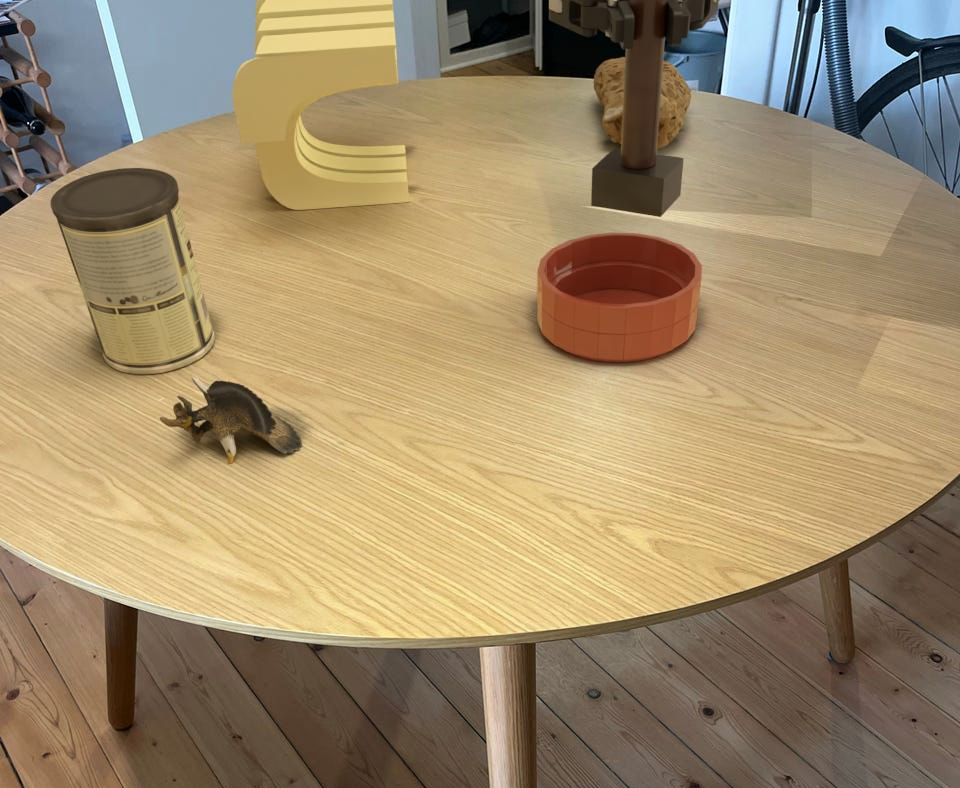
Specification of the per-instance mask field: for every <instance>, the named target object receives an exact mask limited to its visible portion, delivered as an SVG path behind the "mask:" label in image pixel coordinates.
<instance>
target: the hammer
mask: <svg viewBox="0 0 960 788" xmlns="http://www.w3.org/2000/svg"><path fill="white" fill-rule="evenodd" d="M667 2H668V0H628V4H629V5H630V7H631V9H632V11H633V13H634V40H633V48H632V49H625V56H624V57H625V75H624V96H623V117H622V138H621V144H620V148H612V149H611V150H610V151H609V152H608V153H607V154H606V155H605V156H604V157H603V158H602V159H600V160H599V162H597V163H596V164H595V165H594V166H593V167H592V168H591V192H590V193H591V195H590V196H591V197H590V206H591V207H595V208H603V209H607V210H614V211H615V210H616V211H621V212H627V213H633V214H640V215H646V216H651V217H658V218H662V216H664V215H665V213H666V212H667V211H668V210H669V209H670V207H671V206H672V205H673V204H674V203H675V202H676V201H677V200H678V199H679V198H680V197H681V193H682V192H681V191H682V180H683V169H684V159H685V158H684V157H680V156H672V155H665V154H657V153H658V150H657V141H658V127H659V113H660V100H661V86H662V72H663V60H664V58H665V57H664V56H665V41H666V38H665V30H666V16H667Z"/></svg>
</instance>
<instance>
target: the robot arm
mask: <svg viewBox="0 0 960 788" xmlns="http://www.w3.org/2000/svg"><path fill="white" fill-rule="evenodd" d="M719 2H720V1H719V0H668V2H667V16H666V30H665V40H666V41H667V43H668V45H669V47H677V46H679V47H680V46H681V45H682V42H683V41H682V40H683V39H688V38H689V34H690V30H692V31H698V30H700V29H703V28H704V27H705V26H706V24H707V23H708V22H709V21H710V19H711V18H712V17H713V16H714V15H715V13H716V12H717V11H718V9H719ZM548 20H549V21H550V22H552V23H554V24H557V25H559V26H561V27H564V28H565V29H568V30H570V31H572V32H574V33H576V34H578V35H580V36H583V37H586V38H591V37H593V36H596V35H597V34H598V30H599V31H601V32H602V33H605V36H606V37H608V38H610V40H611V42H613V43H615V44H618V43H619V45H620V47H621V49H622V50H626V49H632V48H633V40H634V13H633V11H632V9H631V7H630V5H629V4H628V0H548Z"/></svg>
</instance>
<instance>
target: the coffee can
mask: <svg viewBox="0 0 960 788" xmlns="http://www.w3.org/2000/svg"><path fill="white" fill-rule="evenodd" d="M179 189H180V188H179V184H178V182H177V179H176V178H175V177H174V176H173V175H171V174H169V173H168V172H165V171H162V170H158V169H154V168H147V167H146V168H144V167H126V168H117V169H115V168H114V169H109V170H102V171H99V172H95V173H90V174H88V175H85V176H82V177H80V178H77V179H75V180H72V181H71V182H69V183H67V184H65V185H63V186H62V187H60V188H59V189H58V190H57V191H55V193H54V194H53V195H52V197H51V199H50V202H49V203H50V208H51V211H52V214H53V216H54V217H55V218H56V221H57V224H58V226H59V229H60V232H61V235H62V238H63V241H64V244H65V248H66V250H67V253H68V255H69V259H70V261H71V265H72V267H73V270H74V272H75V275H76V278H77V281H78V284H79V287H80V290H81V293H82V296H83V298H84V299H83V300H84V302H85V304H86V307H87V310H88V313H89V317H90V320H91V322H92V325H93V328H94V331H95V333H96V336H97V339H98V342H99V345H100V348H101V351H102V357H103V359H104V361H105V362H106V364H107V365H108V366H109V367H111V368H113V369H114V370H117V371H119V372H122V373H126V374H132V375H153V374H155V375H157V374H162V373H167V372H171V371H174V370H175V371H176V370H178V369H181V368H183V367H187V366H189V365H190V364H192V363H194V362H196V361H198V360H200V359H201V358H203V357H204V356H205V355H206V354H207V353H209V352H210V350H211V349H212V347H213V346H214V343H215V340H216V334H215V331H214V329H213V325H212V323H211V318H210V315H209V311H208V306H207V303H206V298H205V294H204V290H203V287H202V283H201V279H200V275H199V271H198V268H197V264H196V259H195V255H194V251H193V247H192V244H191V240H190V235H189V232H188V227H187V224H186V220H185V216H184V213H183V209H182V205H181V200H180V197H179V193H180V192H179Z"/></svg>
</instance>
